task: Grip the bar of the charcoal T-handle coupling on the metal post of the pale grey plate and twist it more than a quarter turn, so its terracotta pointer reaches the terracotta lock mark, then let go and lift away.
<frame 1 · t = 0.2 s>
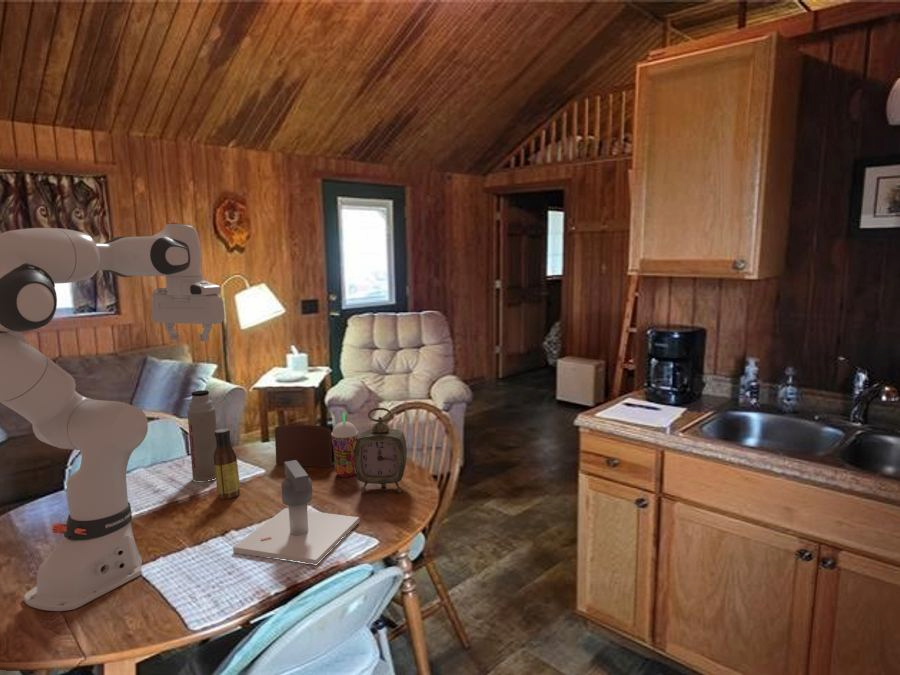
hand: (189, 340, 152), 48 cm above the table, tool pointing down, fingers open, 8 cm apart
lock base: (299, 537, 143), on the table
letter holder: (309, 461, 197), on the table
sauce bottle: (228, 496, 169), on the table
coupling: (296, 484, 141), point 14 cm above the table, hinge at 0.0°
thermos bottle: (206, 478, 183), on the table
smoothie: (346, 474, 184), on the table
tabletop clock: (382, 489, 172), on the table
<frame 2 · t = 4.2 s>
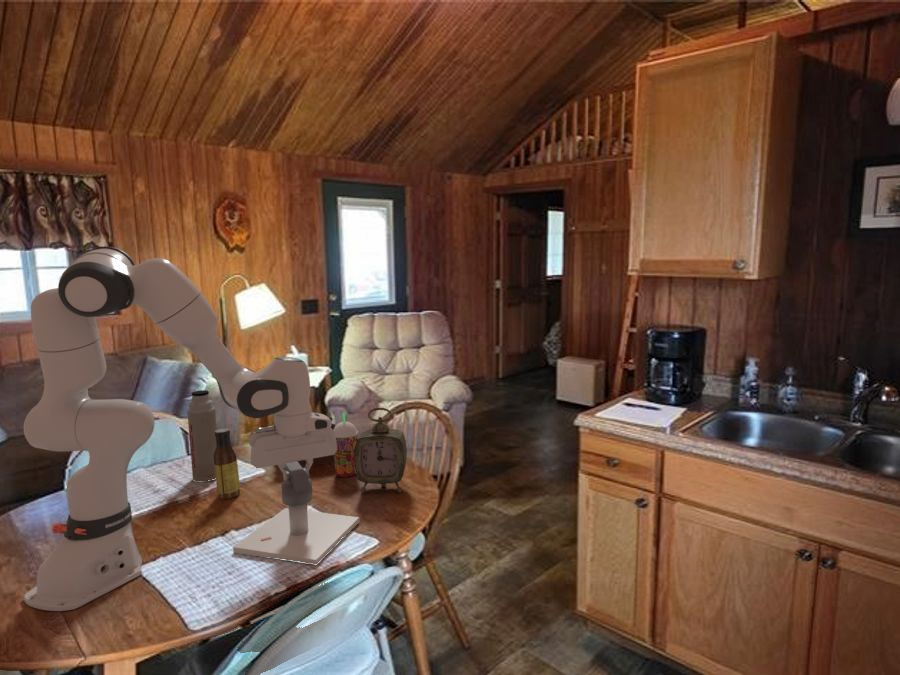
hand: (296, 477, 141), 15 cm above the table, tool pointing down, fingers closed on coupling, 3 cm apart
coupling: (296, 484, 141), point 14 cm above the table, hinge at 0.0°, touching gripper
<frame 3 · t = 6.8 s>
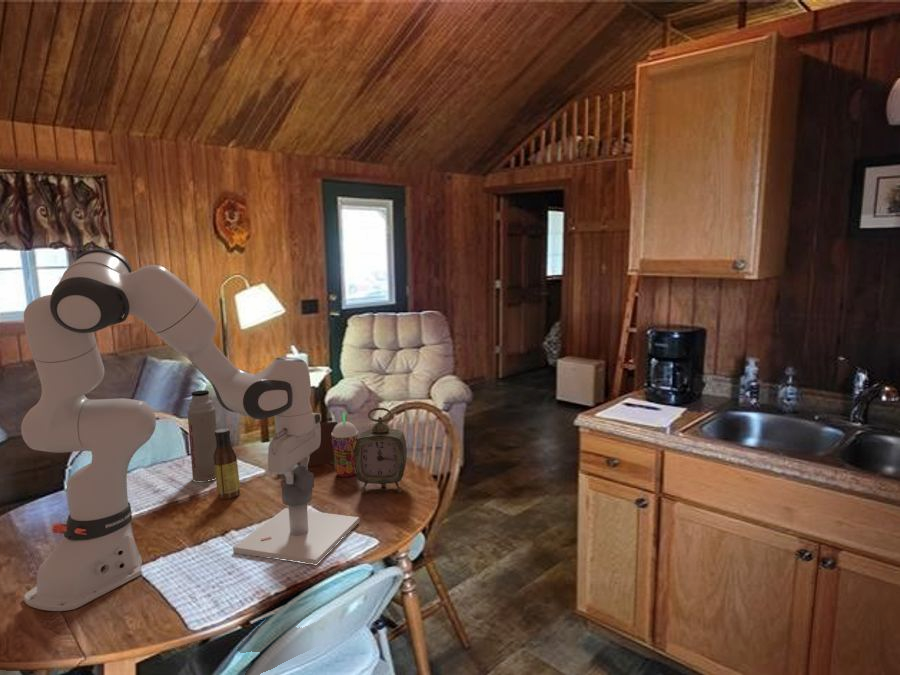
hand: (297, 478, 141), 15 cm above the table, tool pointing down, fingers closed on coupling, 5 cm apart
coupling: (296, 484, 141), point 14 cm above the table, hinge at 13.9°, touching gripper
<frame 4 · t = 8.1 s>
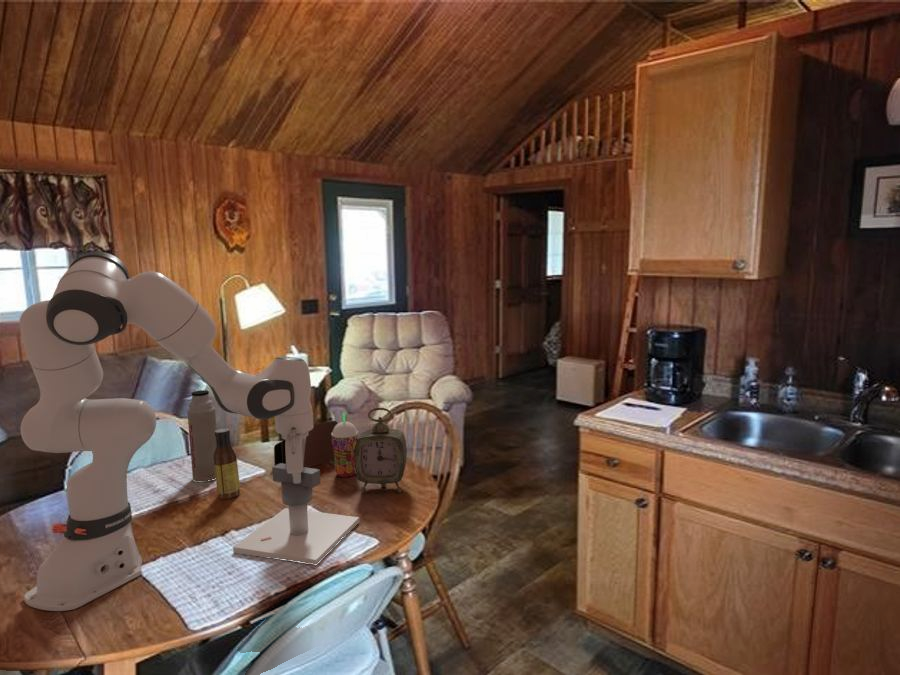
hand: (297, 477, 141), 16 cm above the table, tool pointing down, fingers closed on coupling, 5 cm apart
coupling: (296, 484, 141), point 14 cm above the table, hinge at 37.9°, touching gripper
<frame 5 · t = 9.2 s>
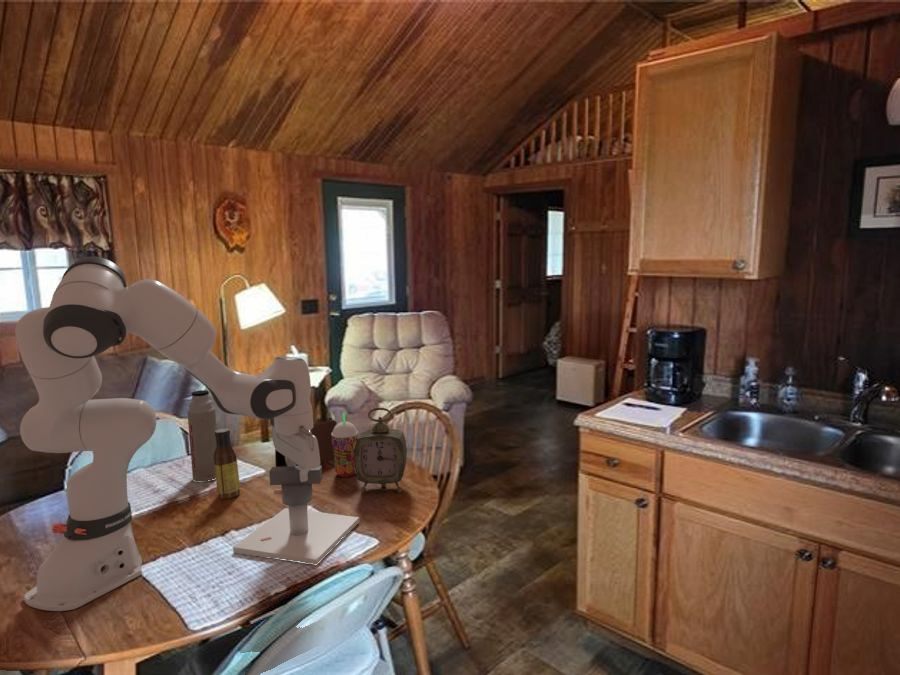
hand: (297, 477, 141), 16 cm above the table, tool pointing down, fingers closed on coupling, 5 cm apart
coupling: (296, 484, 141), point 14 cm above the table, hinge at 64.5°, touching gripper
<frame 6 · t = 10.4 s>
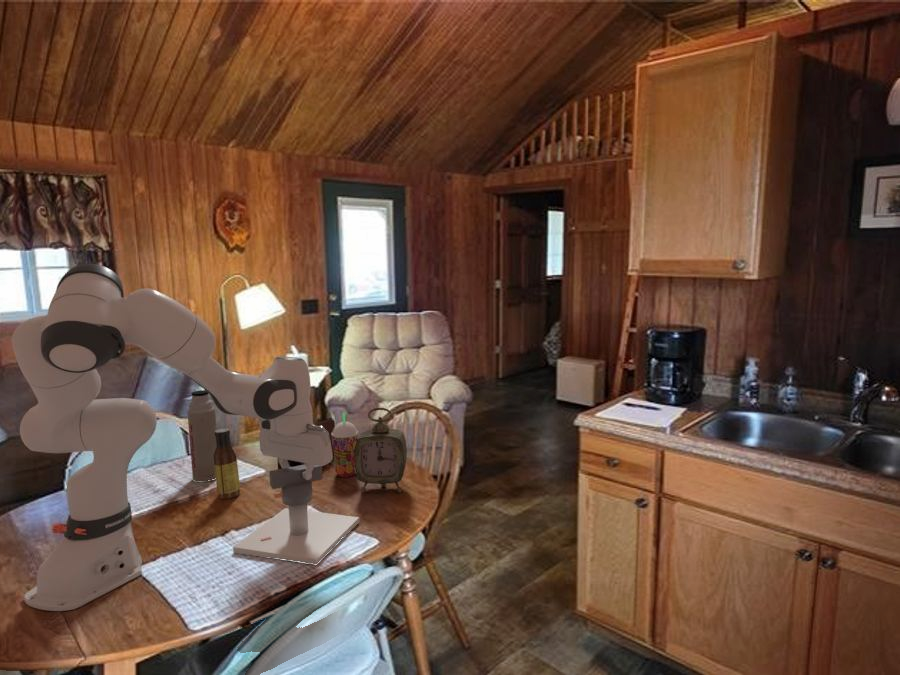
hand: (297, 476, 141), 16 cm above the table, tool pointing down, fingers closed on coupling, 5 cm apart
coupling: (296, 484, 141), point 14 cm above the table, hinge at 90.7°, touching gripper
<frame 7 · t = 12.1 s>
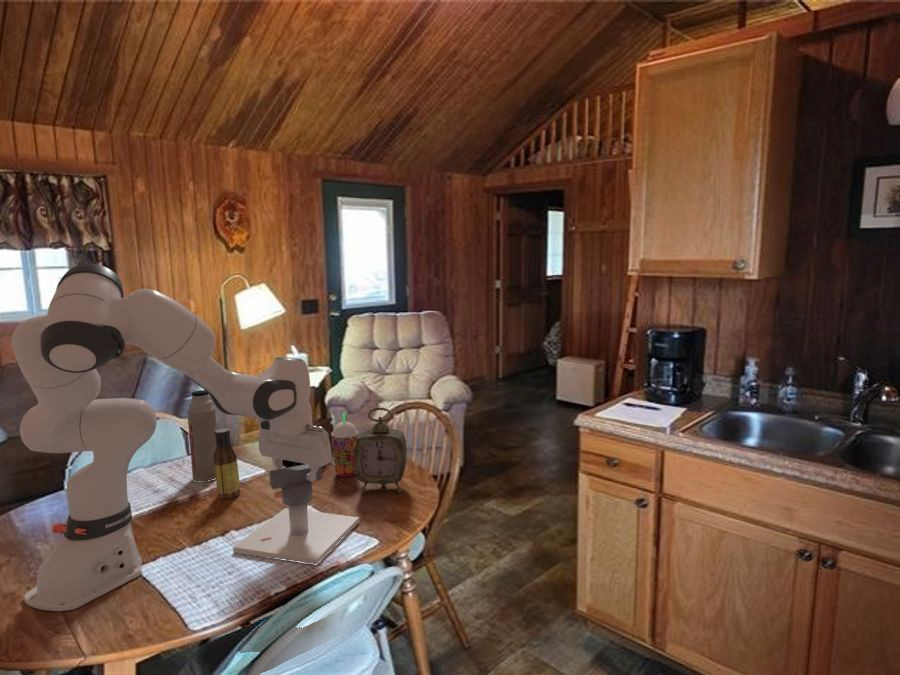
hand: (296, 477, 141), 15 cm above the table, tool pointing down, fingers open, 8 cm apart
coupling: (296, 484, 141), point 14 cm above the table, hinge at 90.7°
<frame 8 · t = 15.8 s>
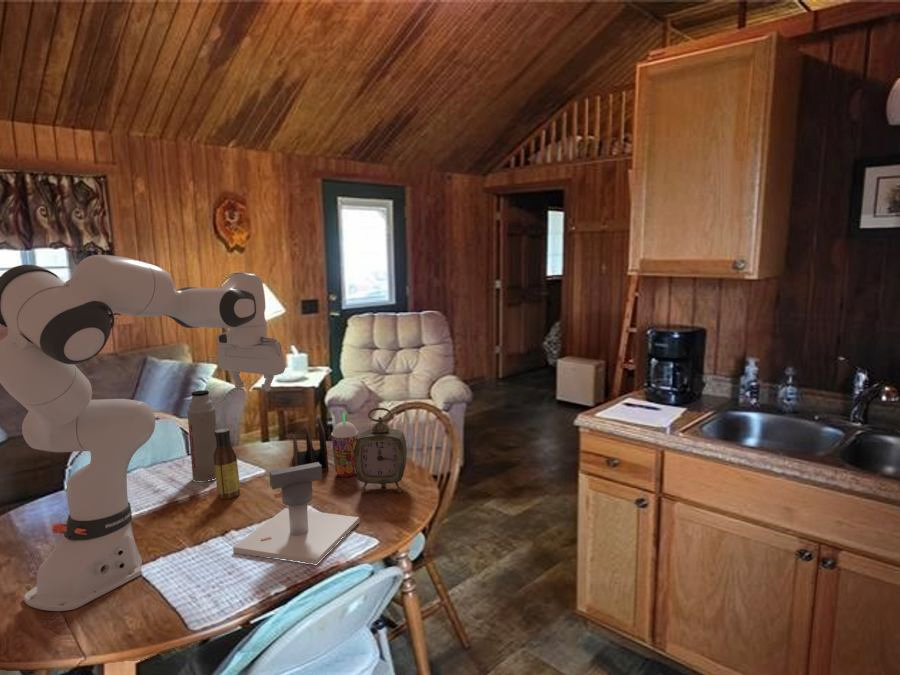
hand: (252, 389, 150), 35 cm above the table, tool pointing down, fingers open, 8 cm apart
at the end: coupling at +91° (first picture: +0°); the gripper is holding nothing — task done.
